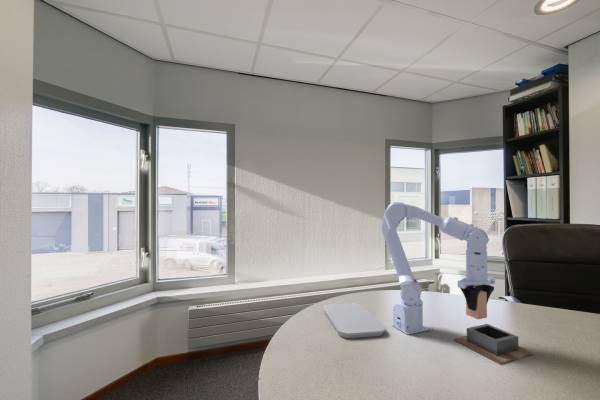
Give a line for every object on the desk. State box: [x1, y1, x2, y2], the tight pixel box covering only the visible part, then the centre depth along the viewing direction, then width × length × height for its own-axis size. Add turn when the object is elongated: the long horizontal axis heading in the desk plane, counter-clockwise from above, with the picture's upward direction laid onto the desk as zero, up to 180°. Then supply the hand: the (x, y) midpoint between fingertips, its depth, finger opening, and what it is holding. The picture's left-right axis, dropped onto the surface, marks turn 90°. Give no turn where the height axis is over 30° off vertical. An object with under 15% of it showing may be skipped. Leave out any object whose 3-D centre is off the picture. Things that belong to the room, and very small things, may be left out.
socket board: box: [454, 323, 534, 365], centre depth 83 cm, size 14×14×4 cm
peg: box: [465, 290, 488, 320], centre depth 88 cm, size 4×4×8 cm
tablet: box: [322, 302, 386, 339], centre depth 101 cm, size 16×26×2 cm, turn 9°
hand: (477, 308), depth 88 cm, fingers closed on peg, 4 cm apart
